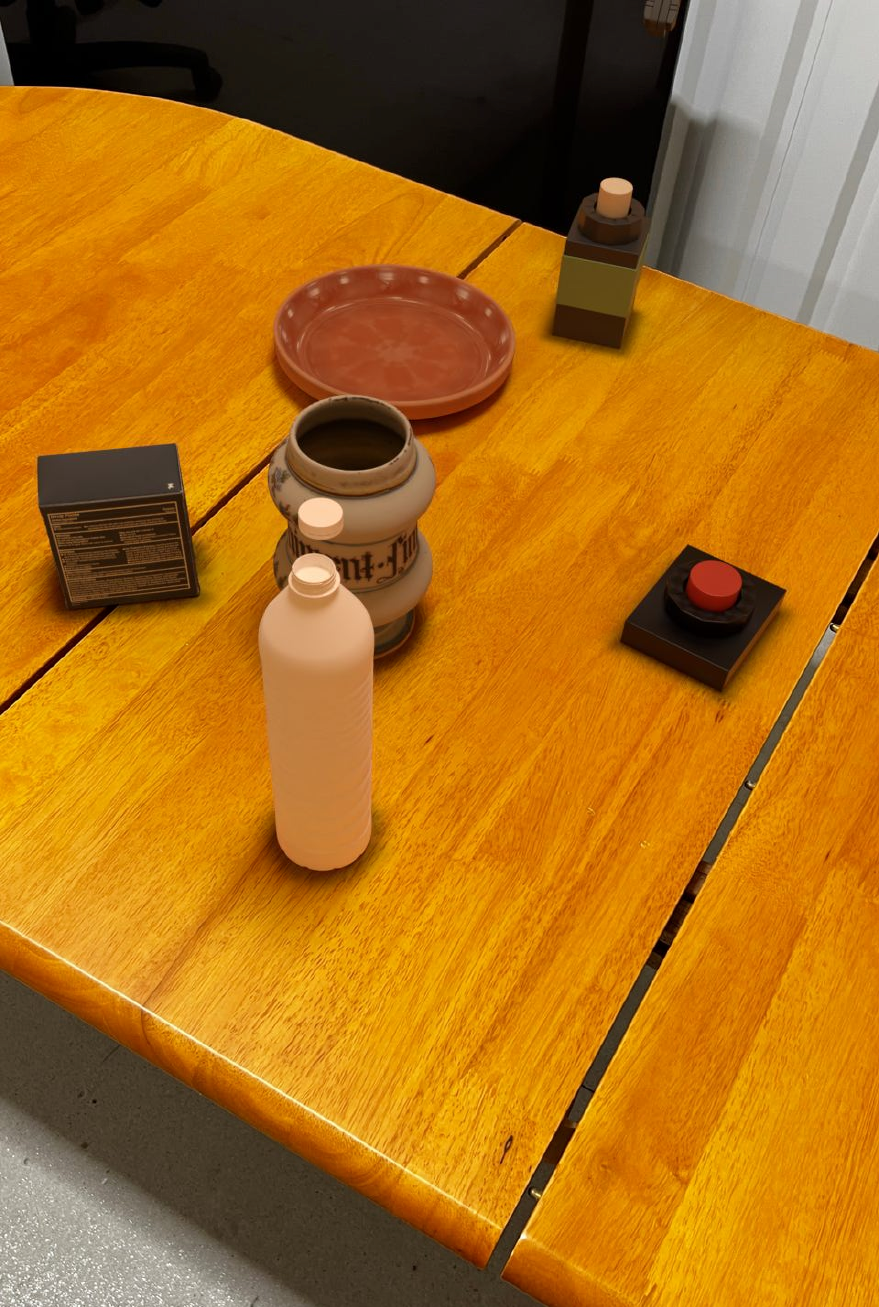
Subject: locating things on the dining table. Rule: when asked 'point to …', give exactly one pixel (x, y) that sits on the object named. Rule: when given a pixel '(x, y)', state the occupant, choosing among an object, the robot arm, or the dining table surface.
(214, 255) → the dining table surface
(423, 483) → the apothecary jar
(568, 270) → the pump bottle label
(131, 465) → the small box
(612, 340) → the pump bottle
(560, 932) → the dining table surface
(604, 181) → the tan cylindrical peg
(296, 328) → the saucer
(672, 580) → the button housing
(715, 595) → the bell button
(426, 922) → the dining table surface
